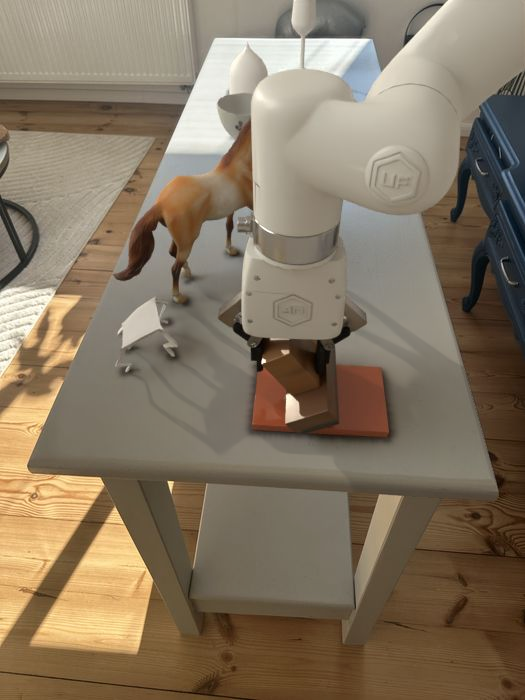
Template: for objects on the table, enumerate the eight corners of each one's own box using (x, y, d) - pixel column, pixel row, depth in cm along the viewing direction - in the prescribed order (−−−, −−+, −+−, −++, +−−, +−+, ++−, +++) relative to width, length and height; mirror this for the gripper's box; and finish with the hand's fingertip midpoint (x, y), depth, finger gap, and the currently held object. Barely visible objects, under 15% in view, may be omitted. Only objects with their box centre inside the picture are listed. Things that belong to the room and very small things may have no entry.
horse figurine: (265, 222, 88) (264, 104, 73) (296, 240, 84) (302, 119, 69) (120, 304, 73) (81, 177, 58) (150, 329, 70) (116, 201, 55)
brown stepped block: (301, 355, 64) (260, 308, 59) (337, 341, 62) (298, 290, 56) (300, 439, 56) (251, 392, 50) (342, 426, 53) (296, 376, 47)
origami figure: (177, 375, 64) (172, 350, 60) (114, 376, 64) (105, 351, 60) (187, 313, 72) (182, 288, 68) (131, 314, 72) (124, 288, 68)
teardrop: (273, 97, 128) (273, 46, 120) (233, 102, 127) (230, 50, 118) (264, 83, 136) (263, 33, 127) (225, 87, 134) (222, 37, 125)
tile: (380, 372, 63) (381, 366, 63) (387, 437, 57) (389, 432, 56) (259, 366, 65) (259, 360, 64) (252, 430, 58) (252, 424, 57)
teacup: (273, 150, 108) (273, 113, 102) (217, 150, 108) (214, 113, 102) (273, 122, 118) (273, 87, 112) (222, 122, 118) (219, 87, 112)
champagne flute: (302, 68, 143) (306, -33, 125) (317, 74, 140) (324, -30, 122) (285, 74, 140) (287, -30, 123) (300, 80, 137) (305, -26, 119)
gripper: (193, 253, 41) (211, 386, 54) (400, 259, 40) (367, 392, 53) (205, 206, 46) (219, 337, 59) (389, 210, 45) (361, 343, 58)
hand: (289, 362), depth 56 cm, fingers closed on brown stepped block, 6 cm apart
